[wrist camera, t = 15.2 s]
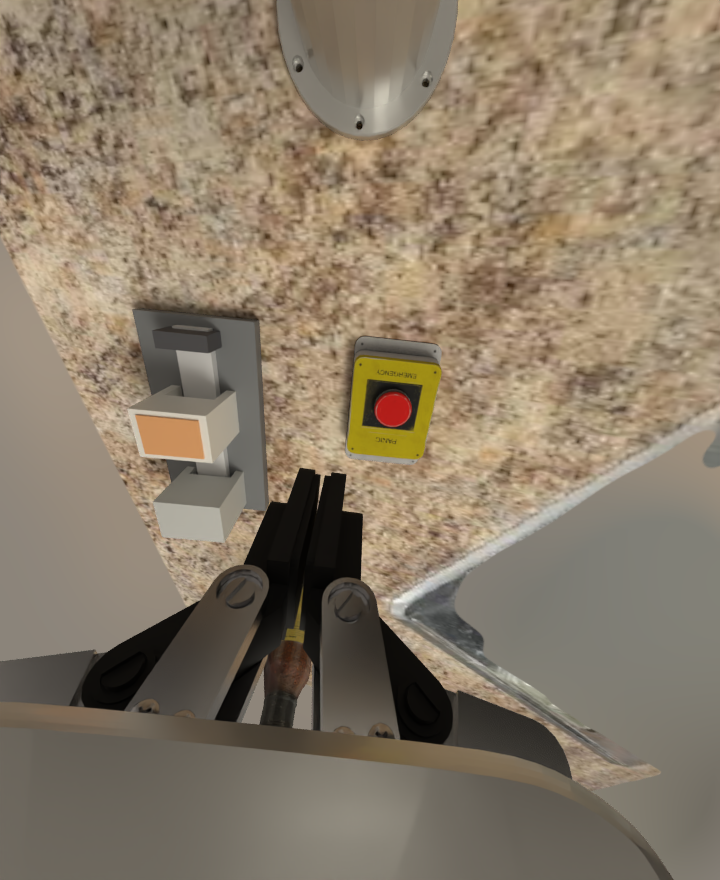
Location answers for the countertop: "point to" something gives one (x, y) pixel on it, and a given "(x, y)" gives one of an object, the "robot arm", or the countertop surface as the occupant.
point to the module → (184, 425)
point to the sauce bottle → (285, 677)
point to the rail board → (208, 376)
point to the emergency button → (391, 399)
